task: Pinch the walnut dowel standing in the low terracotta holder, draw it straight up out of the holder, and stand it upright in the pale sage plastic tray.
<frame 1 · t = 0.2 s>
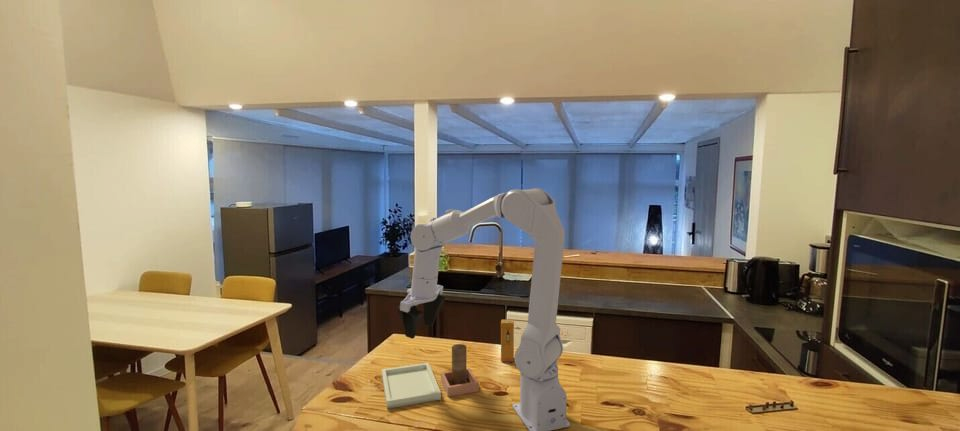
hand: (419, 330, 94), 11 cm above the counter, tool pointing down, fingers open, 7 cm apart
holder: (459, 386, 89), on the counter
supplement box: (507, 360, 102), on the counter
dowel: (459, 366, 89), in the holder
tray: (409, 387, 89), on the counter
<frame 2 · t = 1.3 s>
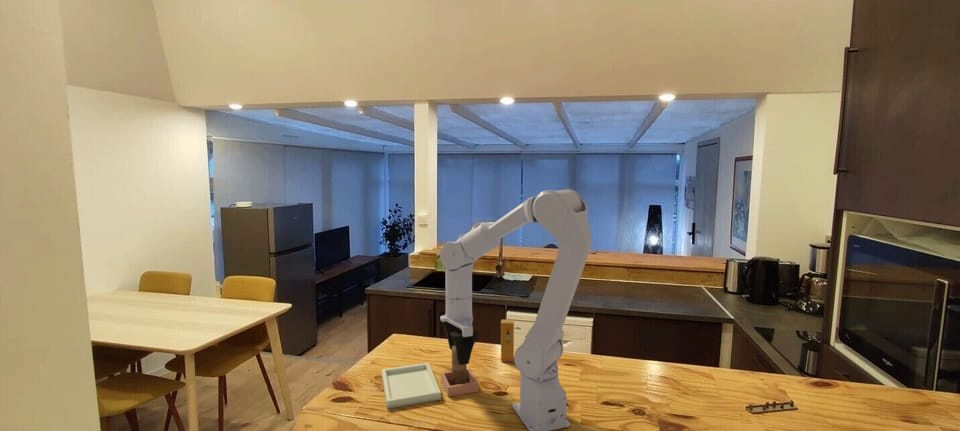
hand: (458, 355, 88), 7 cm above the counter, tool pointing down, fingers open, 7 cm apart
nothing on the counter moved.
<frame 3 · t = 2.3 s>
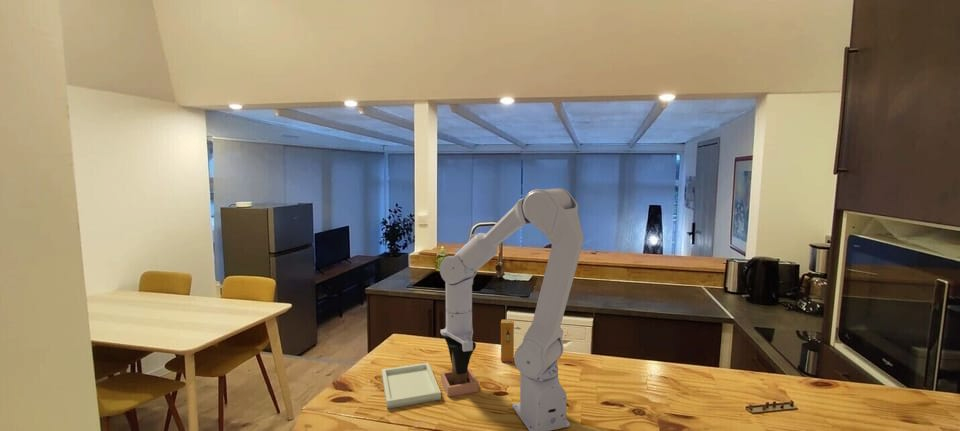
hand: (459, 369, 89), 4 cm above the counter, tool pointing down, fingers closed on dowel, 3 cm apart
dowel: (459, 366, 89), in the holder, touching gripper
everything else where it was.
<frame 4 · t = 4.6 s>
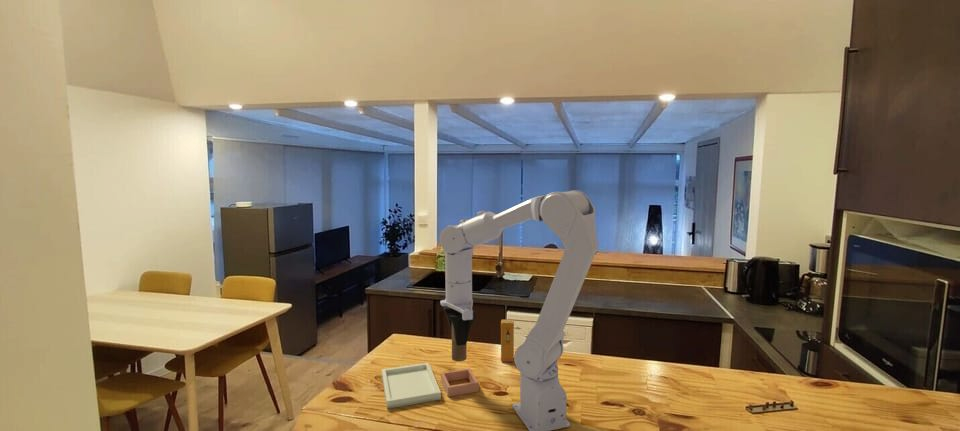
hand: (459, 341, 88), 10 cm above the counter, tool pointing down, fingers closed on dowel, 3 cm apart
dowel: (459, 338, 88), point 11 cm above the counter, touching gripper
everything else where it was.
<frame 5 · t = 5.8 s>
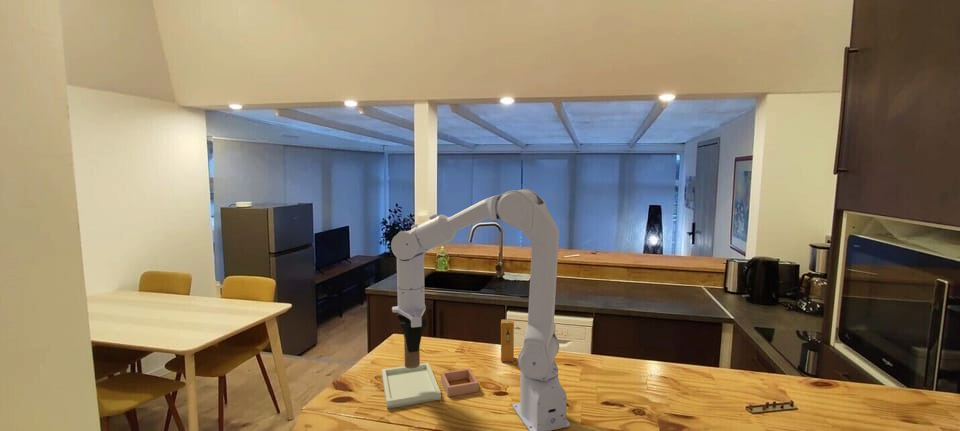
hand: (411, 347, 87), 9 cm above the counter, tool pointing down, fingers closed on dowel, 3 cm apart
dowel: (411, 345, 87), point 10 cm above the counter, touching gripper
everything else where it was.
when the fingers open (6 cm above the counter, at t = 6.8 s): dowel drops 1 cm, resting on tray.
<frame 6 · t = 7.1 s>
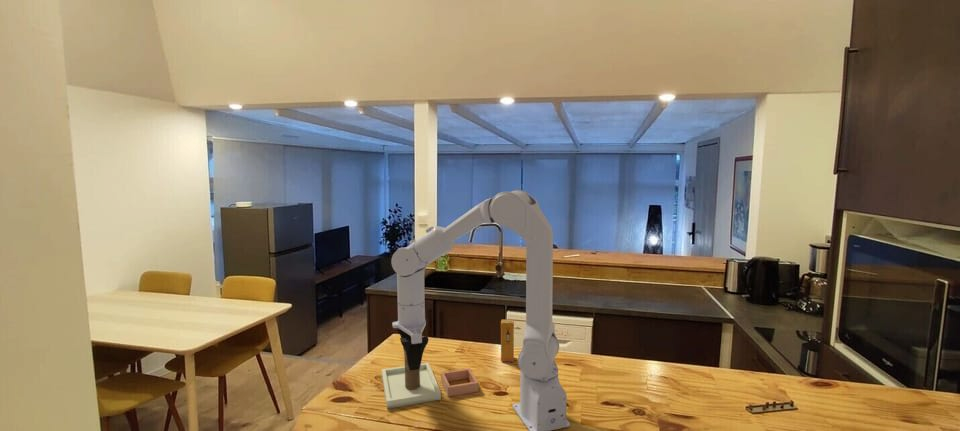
hand: (412, 362, 87), 6 cm above the counter, tool pointing down, fingers open, 6 cm apart
dowel: (412, 366, 88), in the tray, point 5 cm above the counter
everything else where it was.
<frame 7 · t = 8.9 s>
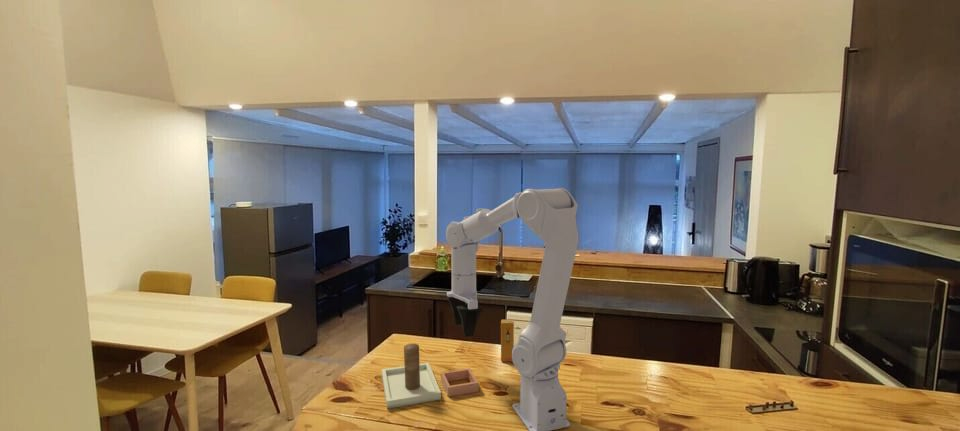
hand: (464, 329, 95), 10 cm above the counter, tool pointing down, fingers open, 7 cm apart
nothing on the counter moved.
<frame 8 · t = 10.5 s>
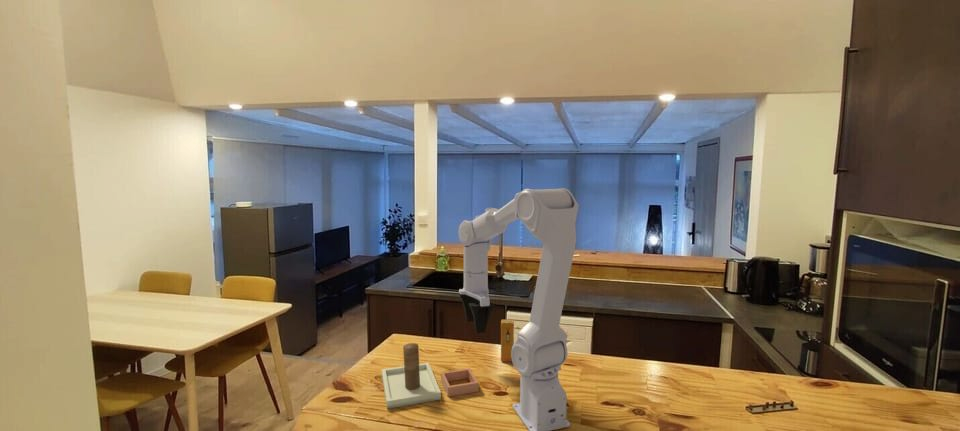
hand: (475, 326, 97), 10 cm above the counter, tool pointing down, fingers open, 7 cm apart
nothing on the counter moved.
at the end: dowel inside the target area on the tray (1.1 cm from its centre), point 5.2 cm above the tray's base; dowel tilted 2°; the gripper is holding nothing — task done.
